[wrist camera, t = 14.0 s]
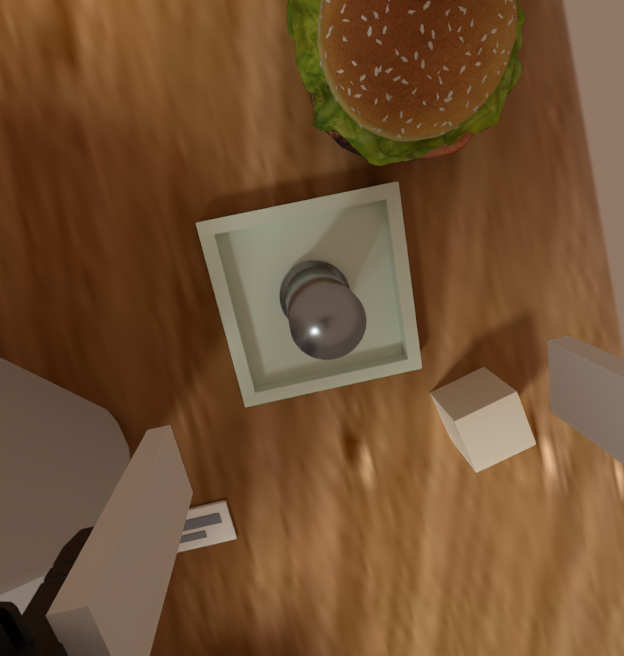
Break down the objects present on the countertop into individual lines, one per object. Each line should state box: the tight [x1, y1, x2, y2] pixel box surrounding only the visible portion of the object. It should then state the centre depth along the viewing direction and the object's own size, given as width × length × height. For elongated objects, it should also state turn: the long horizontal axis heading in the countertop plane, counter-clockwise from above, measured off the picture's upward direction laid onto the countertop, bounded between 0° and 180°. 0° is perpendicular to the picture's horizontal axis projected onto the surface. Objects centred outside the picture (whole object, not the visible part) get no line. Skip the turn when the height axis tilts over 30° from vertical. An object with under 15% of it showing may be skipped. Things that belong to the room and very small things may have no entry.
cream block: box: [430, 367, 536, 473], centre depth 34 cm, size 5×5×5 cm
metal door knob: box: [280, 260, 367, 360], centre depth 28 cm, size 5×5×8 cm
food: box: [287, 0, 526, 166], centre depth 24 cm, size 14×14×8 cm
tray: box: [196, 181, 422, 407], centre depth 31 cm, size 14×14×2 cm
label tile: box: [177, 500, 237, 553], centre depth 37 cm, size 6×4×1 cm, turn 101°
